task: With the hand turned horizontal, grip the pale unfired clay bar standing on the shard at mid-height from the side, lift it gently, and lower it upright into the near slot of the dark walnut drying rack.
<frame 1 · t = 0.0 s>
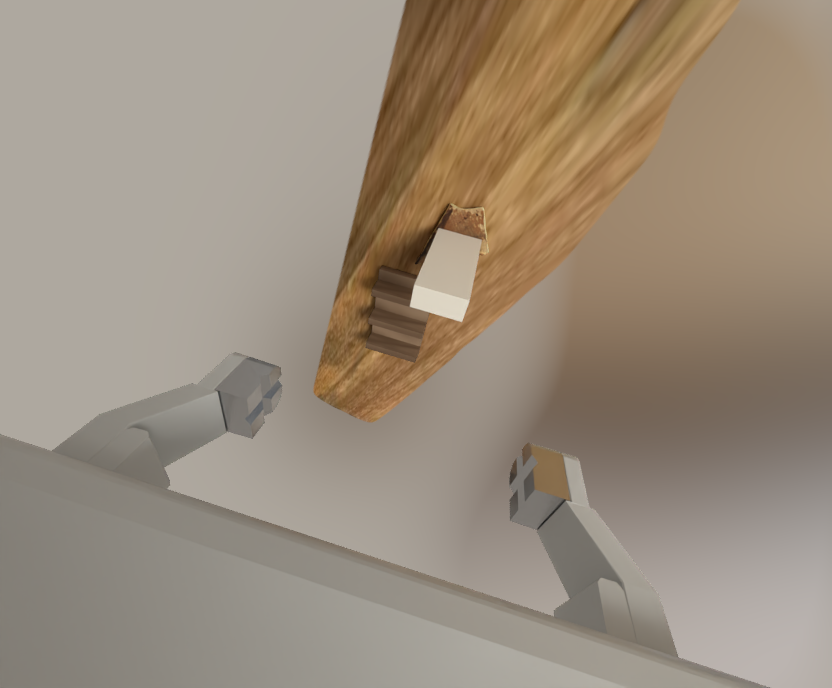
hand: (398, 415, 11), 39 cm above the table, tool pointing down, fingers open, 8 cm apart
clay bar: (457, 243, 47), point 1 cm above the table, touching shard
shard: (459, 240, 48), on the table, touching clay bar
drying rack: (401, 313, 58), on the table
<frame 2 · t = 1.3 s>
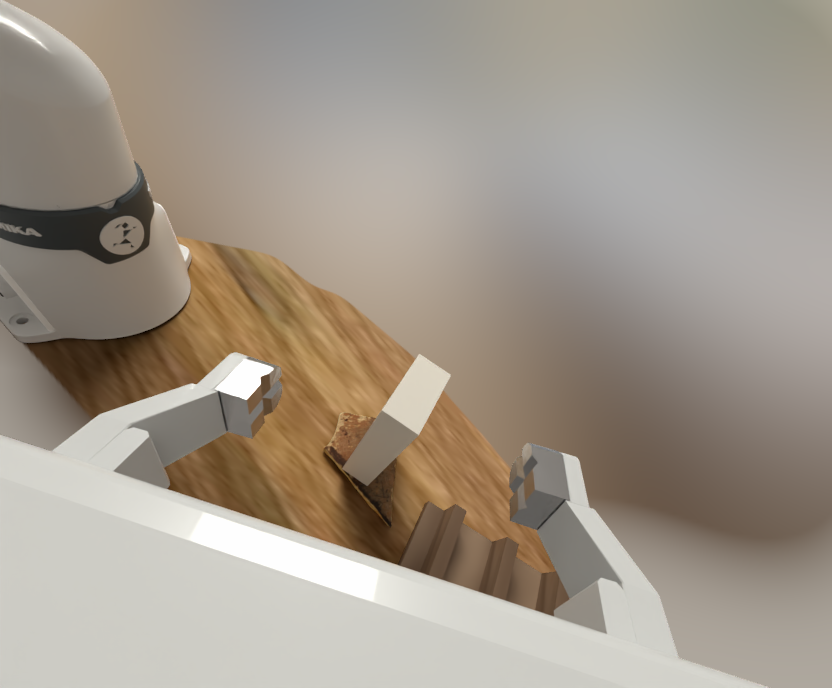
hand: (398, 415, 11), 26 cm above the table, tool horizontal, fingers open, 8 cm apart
clay bar: (370, 452, 36), point 1 cm above the table
shard: (374, 459, 37), on the table
drying rack: (478, 595, 32), on the table
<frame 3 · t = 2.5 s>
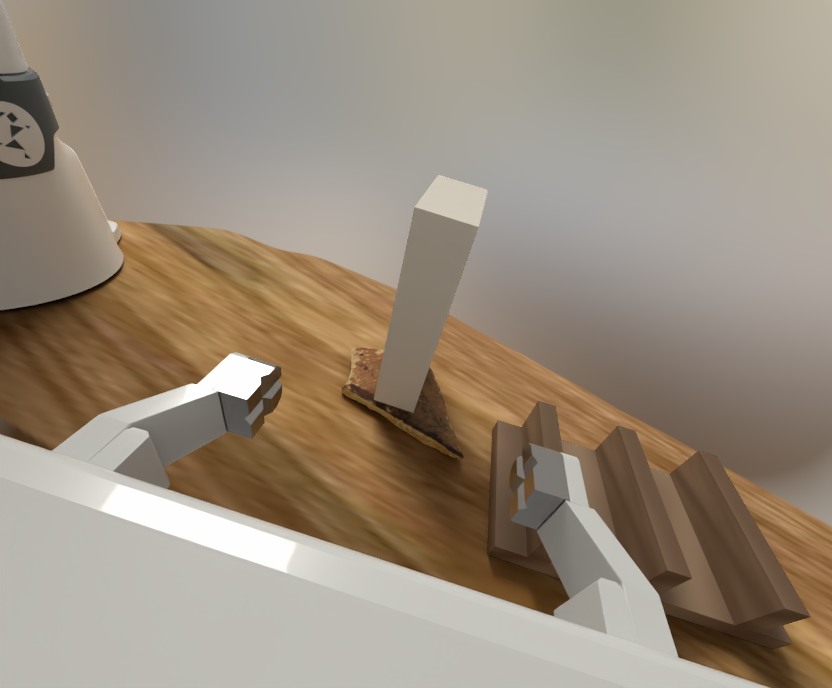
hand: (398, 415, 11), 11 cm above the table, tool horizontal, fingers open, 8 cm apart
clay bar: (404, 377, 27), point 1 cm above the table
shard: (410, 397, 28), on the table
drying rack: (608, 520, 22), on the table
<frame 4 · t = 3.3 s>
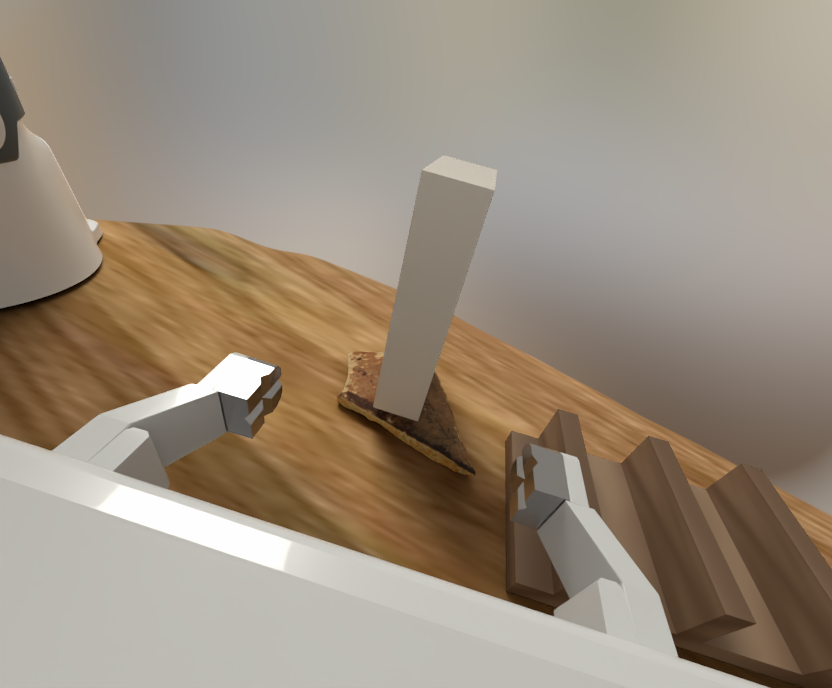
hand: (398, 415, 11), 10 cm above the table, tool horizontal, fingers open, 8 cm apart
clay bar: (406, 384, 24), point 1 cm above the table
shard: (413, 406, 26), on the table
drying rack: (641, 545, 20), on the table
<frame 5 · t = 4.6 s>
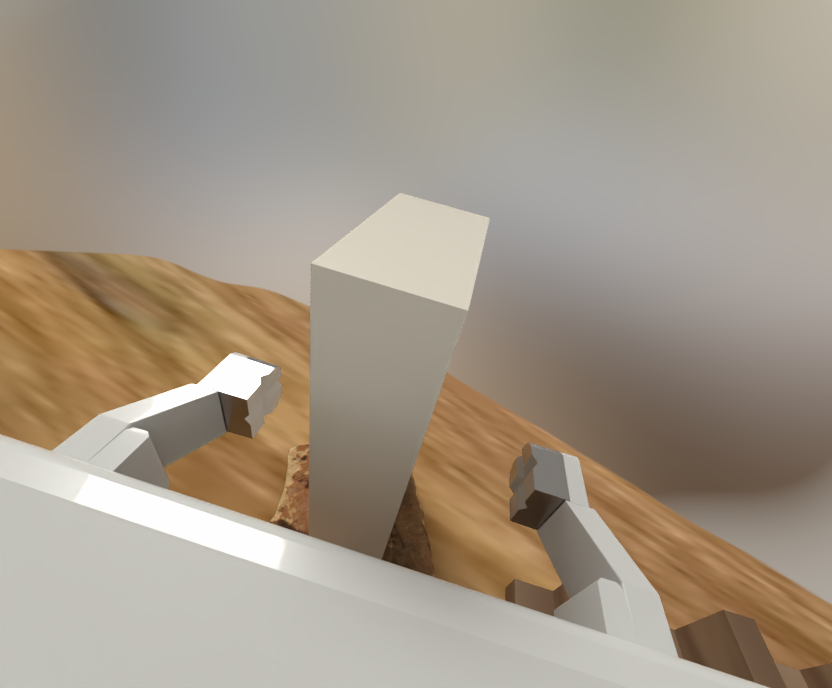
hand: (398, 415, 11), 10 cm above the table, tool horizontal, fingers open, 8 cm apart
clay bar: (365, 504, 17), point 1 cm above the table, touching shard
shard: (379, 522, 18), on the table, touching clay bar
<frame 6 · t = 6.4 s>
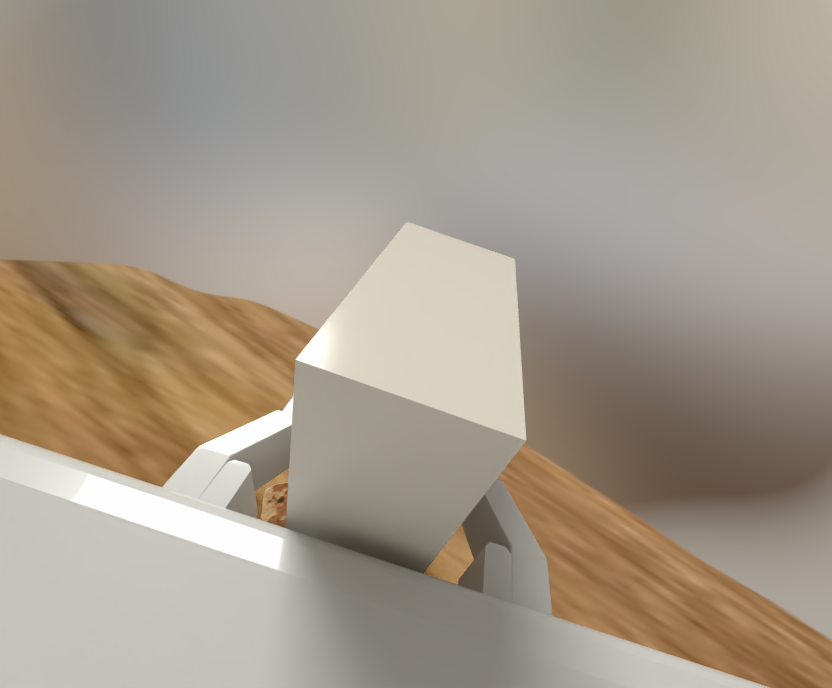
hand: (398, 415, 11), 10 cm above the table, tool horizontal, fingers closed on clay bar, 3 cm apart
clay bar: (347, 560, 15), point 1 cm above the table, touching shard, gripper
shard: (364, 571, 17), on the table, touching clay bar
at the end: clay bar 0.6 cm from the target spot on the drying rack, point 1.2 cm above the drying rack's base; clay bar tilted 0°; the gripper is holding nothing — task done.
